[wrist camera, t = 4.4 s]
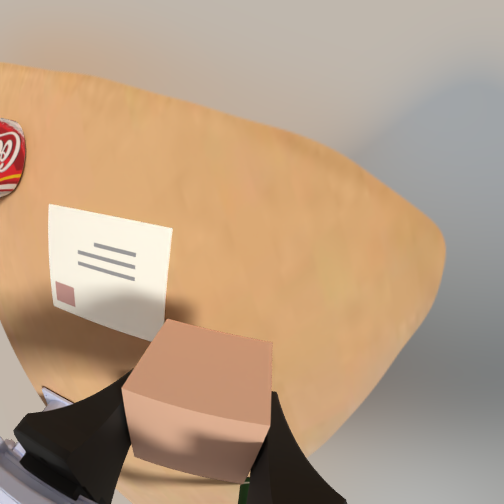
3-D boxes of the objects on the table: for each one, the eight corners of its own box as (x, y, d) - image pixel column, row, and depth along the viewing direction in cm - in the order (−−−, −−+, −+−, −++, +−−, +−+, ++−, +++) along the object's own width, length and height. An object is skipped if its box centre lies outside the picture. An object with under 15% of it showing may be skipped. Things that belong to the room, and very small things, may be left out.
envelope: (163, 344, 20) (162, 345, 20) (54, 304, 20) (53, 305, 20) (172, 228, 17) (171, 228, 17) (50, 203, 17) (48, 203, 17)
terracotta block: (251, 410, 14) (243, 483, 9) (164, 390, 14) (134, 456, 9) (272, 342, 12) (270, 425, 8) (167, 318, 13) (121, 388, 8)
